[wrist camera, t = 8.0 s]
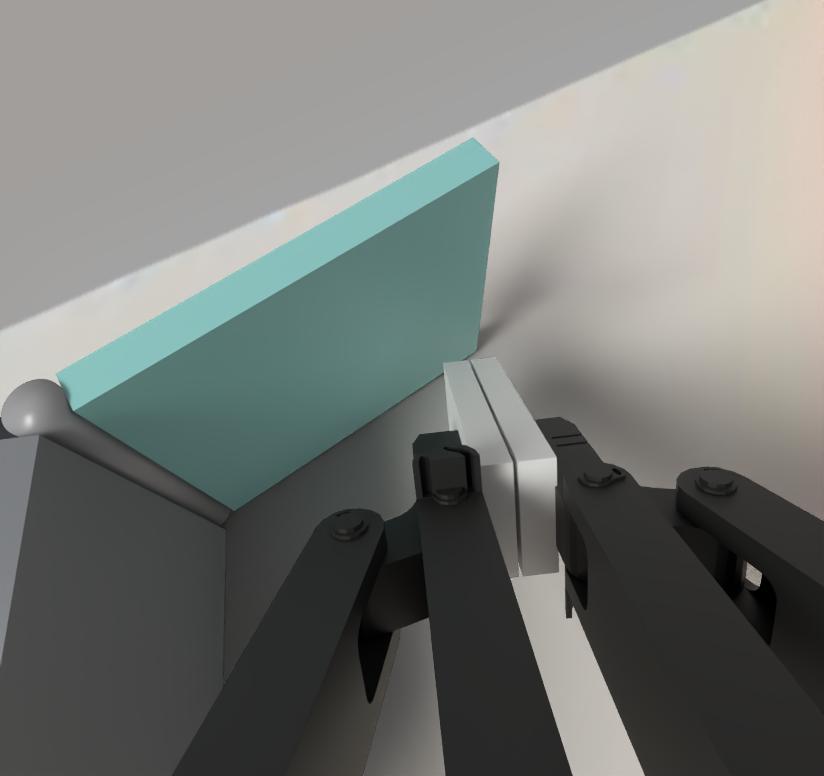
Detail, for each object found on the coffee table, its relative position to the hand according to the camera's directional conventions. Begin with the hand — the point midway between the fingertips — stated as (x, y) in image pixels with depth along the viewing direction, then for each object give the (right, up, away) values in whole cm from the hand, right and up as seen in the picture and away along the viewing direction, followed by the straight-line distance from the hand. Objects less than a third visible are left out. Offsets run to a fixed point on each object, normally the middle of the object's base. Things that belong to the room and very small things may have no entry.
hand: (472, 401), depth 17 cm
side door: (-5, -1, +4) cm, 6 cm away
